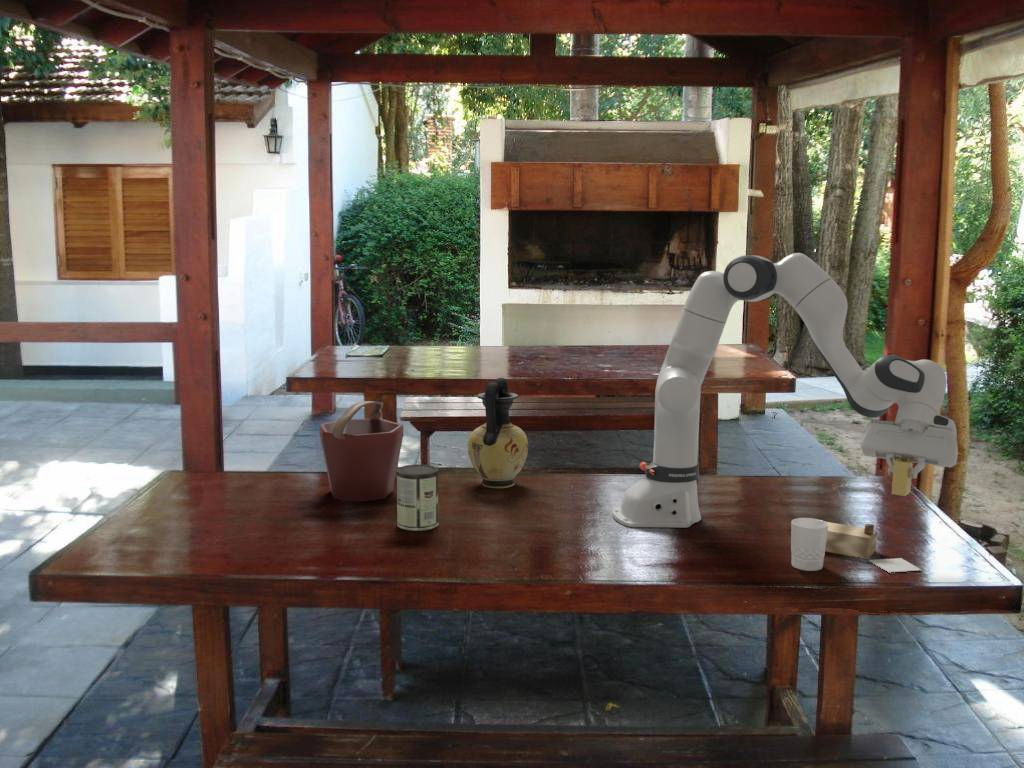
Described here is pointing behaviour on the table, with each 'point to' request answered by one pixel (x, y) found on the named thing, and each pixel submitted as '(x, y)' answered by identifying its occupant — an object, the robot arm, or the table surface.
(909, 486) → the brass knob block
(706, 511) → the table surface
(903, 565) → the mat
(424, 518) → the coffee can
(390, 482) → the bucket
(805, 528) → the white cup
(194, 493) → the table surface
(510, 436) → the amphora
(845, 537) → the body
